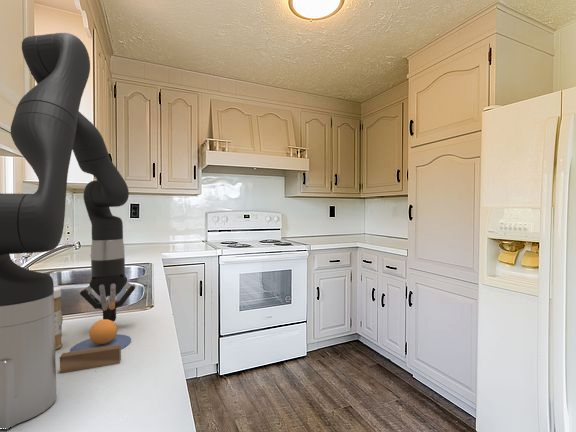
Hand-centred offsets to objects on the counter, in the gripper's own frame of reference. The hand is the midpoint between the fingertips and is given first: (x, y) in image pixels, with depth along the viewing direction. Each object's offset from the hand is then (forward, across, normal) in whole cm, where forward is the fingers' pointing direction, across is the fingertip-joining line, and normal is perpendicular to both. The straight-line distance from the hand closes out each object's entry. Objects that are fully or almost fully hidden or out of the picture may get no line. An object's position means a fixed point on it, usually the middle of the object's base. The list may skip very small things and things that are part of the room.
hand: (109, 323), depth 81 cm
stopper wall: (+2, 0, +21) cm, 21 cm away
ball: (-1, 0, +10) cm, 10 cm away
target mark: (+2, 0, +11) cm, 11 cm away
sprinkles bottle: (+2, +10, +8) cm, 14 cm away
